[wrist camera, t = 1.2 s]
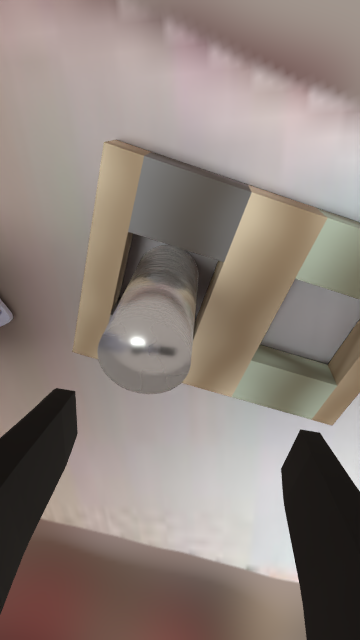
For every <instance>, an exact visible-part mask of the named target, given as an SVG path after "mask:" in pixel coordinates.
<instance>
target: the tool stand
mask: <svg viewBox="0 0 360 640" xmlns="http://www.w3.org/2000/svg"><path fill="white" fill-rule="evenodd" d="M133 233H134V234H137V235H140V236H143V237H146V238H149V239H152V240H156V241H159V242H162V243H165V244H168V245H171V246H175V247H178V248H181V249H184V250H187V251H190V252H193V253H197V254H200V255H203V256H206V257H209V258H212V259H216V260H219V261H218V263H217V266H216V268H215V271H214V274H213V276H212V279H211V281H210V284H209V287H208V289H207V292H206V294H205V297H204V300H203V302H202V305H201V308H200V310H199V313H198V315H197V318H196V321H195V322H194V334H193V345H192V357H191V366H190V370H189V373H188V375H187V376H186V378H185V379H184V380H183V382H182V383H184V384H187V385H191V386H194V387H198V388H201V389H205V390H208V391H212V392H216V393H219V394H223V395H226V396H230V397H233V398H237V399H240V400H244V401H247V402H251V403H254V404H258V405H261V406H265V407H269V408H272V409H276V410H279V411H283V412H286V413H290V414H293V415H297V416H300V417H304V418H307V419H311V420H315V421H318V422H322V423H325V424H329V425H333V424H334V423H335V422H336V420H337V419H338V418H339V417H340V416H341V414H342V413H343V412H344V411H345V409H346V408H347V407H348V406H349V405H350V403H351V402H352V401H353V400H354V399H355V397H356V396H357V395H358V394H359V393H360V320H359V321H358V322H357V324H356V325H355V327H354V328H353V330H352V331H351V332H350V334H349V335H348V337H347V338H346V339H345V341H344V342H343V344H342V345H341V346H340V348H339V349H338V351H337V352H336V354H335V355H334V356H333V358H332V359H331V361H330V362H329V363H328V365H326V364H323V363H320V362H316V361H313V360H310V359H306V358H303V357H300V356H296V355H293V354H290V353H286V352H283V351H279V350H276V349H273V348H269V347H266V346H263V345H260V343H261V341H262V339H263V338H264V336H265V334H266V332H267V330H268V328H269V326H270V324H271V323H272V321H273V319H274V317H275V315H276V313H277V311H278V310H279V308H280V306H281V304H282V302H283V300H284V298H285V297H286V295H287V293H288V291H289V289H290V287H291V285H292V283H293V282H294V280H295V279H297V280H300V281H304V282H307V283H310V284H313V285H316V286H319V287H322V288H326V289H329V290H332V291H335V292H338V293H341V294H344V295H348V296H351V297H354V298H357V299H360V222H357V221H354V220H351V219H348V218H345V217H342V216H339V215H336V214H333V213H330V212H327V211H324V210H321V209H318V208H315V207H312V206H309V205H307V204H304V203H301V202H298V201H295V200H292V199H289V198H286V197H283V196H280V195H277V194H274V193H271V192H268V191H265V190H262V189H259V188H256V187H253V186H251V185H248V184H245V183H242V182H239V181H236V180H233V179H230V178H227V177H224V176H221V175H218V174H215V173H212V172H209V171H206V170H203V169H200V168H197V167H194V166H192V165H189V164H186V163H183V162H180V161H177V160H174V159H171V158H168V157H165V156H162V155H159V154H156V153H153V152H150V151H147V150H144V149H141V148H138V147H136V146H133V145H130V144H127V143H124V142H121V141H118V140H112V141H107V142H104V145H103V152H102V158H101V165H100V172H99V178H98V185H97V192H96V198H95V205H94V212H93V218H92V225H91V232H90V238H89V245H88V252H87V258H86V265H85V272H84V278H83V285H82V292H81V298H80V305H79V311H78V318H77V325H76V331H75V338H74V345H73V351H72V352H74V353H78V354H81V355H85V356H88V357H92V358H95V359H98V344H99V342H100V339H101V337H102V335H103V333H104V331H105V329H106V327H107V325H108V323H109V321H110V319H111V317H112V316H113V314H114V312H115V310H116V308H117V306H118V304H119V302H120V300H121V299H120V298H119V295H120V291H121V286H122V282H123V277H124V273H125V268H126V264H127V259H128V255H129V250H130V246H131V241H132V237H133Z"/></svg>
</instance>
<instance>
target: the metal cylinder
mask: <svg viewBox="0 0 360 640" xmlns="http://www.w3.org/2000/svg"><path fill="white" fill-rule="evenodd" d="M198 276H199V273H198V268H197V265H196V262H195V261H194V259H193V258H192V256H191V255H190V254H189V253H187V252H186V251H185V250H183V249H181V248H178V247H175V246H171V245H161V246H157V247H154V248H152V249H151V250H149V251H148V252H146V253H145V254H144V256H143V257H142V259H141V260H140V262H139V264H138V266H137V268H136V270H135V272H134V274H133V276H132V278H131V280H130V282H129V284H128V286H127V288H126V290H125V292H124V294H123V296H122V298H121V300H120V302H119V304H118V306H117V308H116V310H115V312H114V314H113V316H112V317H111V319H110V321H109V323H108V325H107V327H106V329H105V331H104V333H103V335H102V337H101V339H100V342H99V344H98V360H99V363H100V365H101V367H102V369H103V371H104V372H105V373H106V375H107V376H108V377H109V378H110V379H111V380H112V381H114V382H115V383H116V384H118V385H119V386H121V387H123V388H125V389H127V390H130V391H133V392H137V393H143V394H157V393H162V392H166V391H169V390H171V389H173V388H175V387H177V386H178V385H179V384H180V383H182V382H183V380H184V379H185V378H186V376H187V375H188V373H189V370H190V366H191V357H192V345H193V334H194V322H195V311H196V300H197V288H198Z"/></svg>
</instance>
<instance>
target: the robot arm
mask: <svg viewBox="0 0 360 640" xmlns="http://www.w3.org/2000/svg"><path fill="white" fill-rule="evenodd" d="M0 310H1V311H0V327H1V326H3V325H5V324H7V323H9V322H10V321H11V320H12V319H13V314H12V313H11V311H10V310H9V309H8V308H7V306H6V305H5V304H4V303H3V302H2V301H1V299H0ZM76 437H77V416H76V398H75V391H70V390H64V389H58V388H56V389H54V390H53V391H52V392H51V393H50V394H49V395H48V396H46V397H45V398H44V399H43V400H42V401H41V402H40V403H39V404H38V405H37V406H36V407H35V408H34V409H33V410H31V411H30V412H29V413H28V414H27V415H26V416H25V417H24V418H23V419H21V420H20V421H19V422H18V423H17V424H16V425H15V426H13V427H12V428H11V429H10V430H9V431H8V432H7V433H5V434H4V435H3V436H2V437H1V438H0V614H1V611H2V609H3V606H4V603H5V601H6V598H7V595H8V593H9V590H10V588H11V585H12V582H13V580H14V577H15V575H16V572H17V569H18V567H19V565H20V562H21V559H22V556H23V554H24V552H25V550H26V548H27V545H28V543H29V541H30V539H31V537H32V535H33V533H34V530H35V528H36V526H37V524H38V522H39V520H40V518H41V516H42V514H43V512H44V510H45V508H46V506H47V504H48V502H49V500H50V498H51V496H52V494H53V492H54V490H55V487H56V485H57V483H58V481H59V479H60V477H61V475H62V473H63V471H64V469H65V467H66V464H67V462H68V459H69V456H70V454H71V451H72V448H73V445H74V442H75V439H76ZM281 473H282V488H283V499H284V506H285V512H286V517H287V522H288V528H289V533H290V538H291V543H292V548H293V553H294V558H295V563H296V568H297V573H298V579H299V584H300V590H301V596H302V601H303V610H304V619H305V628H306V637H307V640H360V491H359V490H358V488H357V487H356V486H355V484H354V483H353V481H352V480H351V478H350V477H349V475H348V474H347V472H346V471H345V470H344V468H343V467H342V465H341V464H340V462H339V461H338V459H337V458H336V456H335V455H334V453H333V452H332V450H331V449H330V447H329V446H328V444H327V443H326V441H325V440H324V438H323V437H322V435H321V434H320V433H318V432H312V431H306V430H300V431H299V433H298V436H297V438H296V440H295V442H294V444H293V446H292V448H291V450H290V452H289V454H288V456H287V458H286V460H285V462H284V464H283V466H282V468H281Z"/></svg>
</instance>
